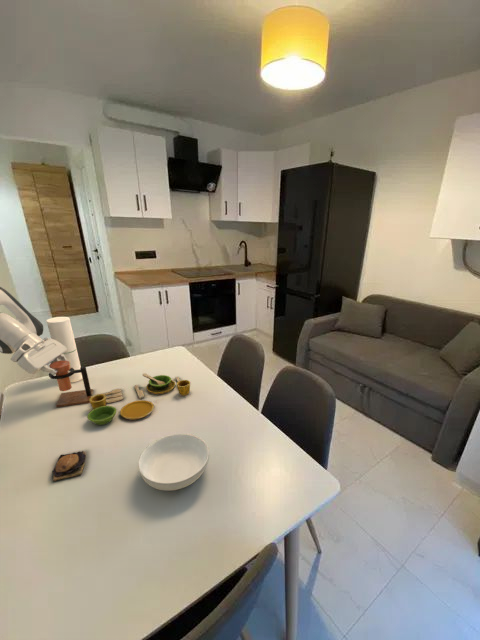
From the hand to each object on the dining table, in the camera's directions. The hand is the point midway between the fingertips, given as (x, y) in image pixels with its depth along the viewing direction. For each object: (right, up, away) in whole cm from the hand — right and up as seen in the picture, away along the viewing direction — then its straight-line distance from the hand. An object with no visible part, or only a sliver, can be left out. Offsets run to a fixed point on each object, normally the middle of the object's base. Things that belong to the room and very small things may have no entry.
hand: (62, 368), depth 118 cm
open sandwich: (+21, -29, -27) cm, 45 cm away
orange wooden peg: (-1, -9, +4) cm, 9 cm away
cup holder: (+1, -14, +7) cm, 15 cm away
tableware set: (+30, -15, +8) cm, 34 cm away
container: (-10, -6, +22) cm, 25 cm away
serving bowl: (+55, -31, -27) cm, 69 cm away
